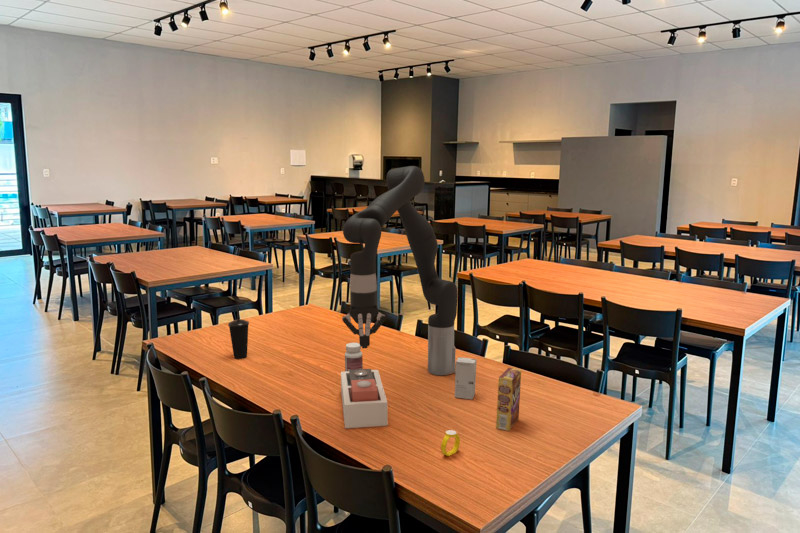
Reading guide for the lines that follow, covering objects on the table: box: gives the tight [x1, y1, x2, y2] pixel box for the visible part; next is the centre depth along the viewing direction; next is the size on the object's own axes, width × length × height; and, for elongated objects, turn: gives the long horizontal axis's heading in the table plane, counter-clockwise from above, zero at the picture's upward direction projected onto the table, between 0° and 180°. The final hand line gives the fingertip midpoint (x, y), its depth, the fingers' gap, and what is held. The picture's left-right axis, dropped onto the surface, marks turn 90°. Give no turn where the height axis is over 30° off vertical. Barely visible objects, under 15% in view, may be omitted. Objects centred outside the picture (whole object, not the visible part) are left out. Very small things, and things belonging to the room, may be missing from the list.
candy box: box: [495, 367, 522, 432], centre depth 159 cm, size 9×4×15 cm, turn 152°
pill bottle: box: [344, 342, 364, 372], centre depth 197 cm, size 6×6×11 cm
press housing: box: [340, 369, 389, 429], centre depth 171 cm, size 12×26×7 cm, turn 8°
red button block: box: [351, 379, 378, 402], centre depth 165 cm, size 7×9×8 cm
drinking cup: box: [227, 306, 250, 360], centre depth 216 cm, size 8×8×20 cm
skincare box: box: [454, 357, 477, 400], centre depth 179 cm, size 6×4×12 cm
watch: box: [440, 429, 461, 457], centre depth 144 cm, size 6×3×6 cm, turn 136°
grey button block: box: [349, 368, 373, 386], centre depth 177 cm, size 7×9×8 cm
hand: (364, 347), depth 163 cm, fingers closed
